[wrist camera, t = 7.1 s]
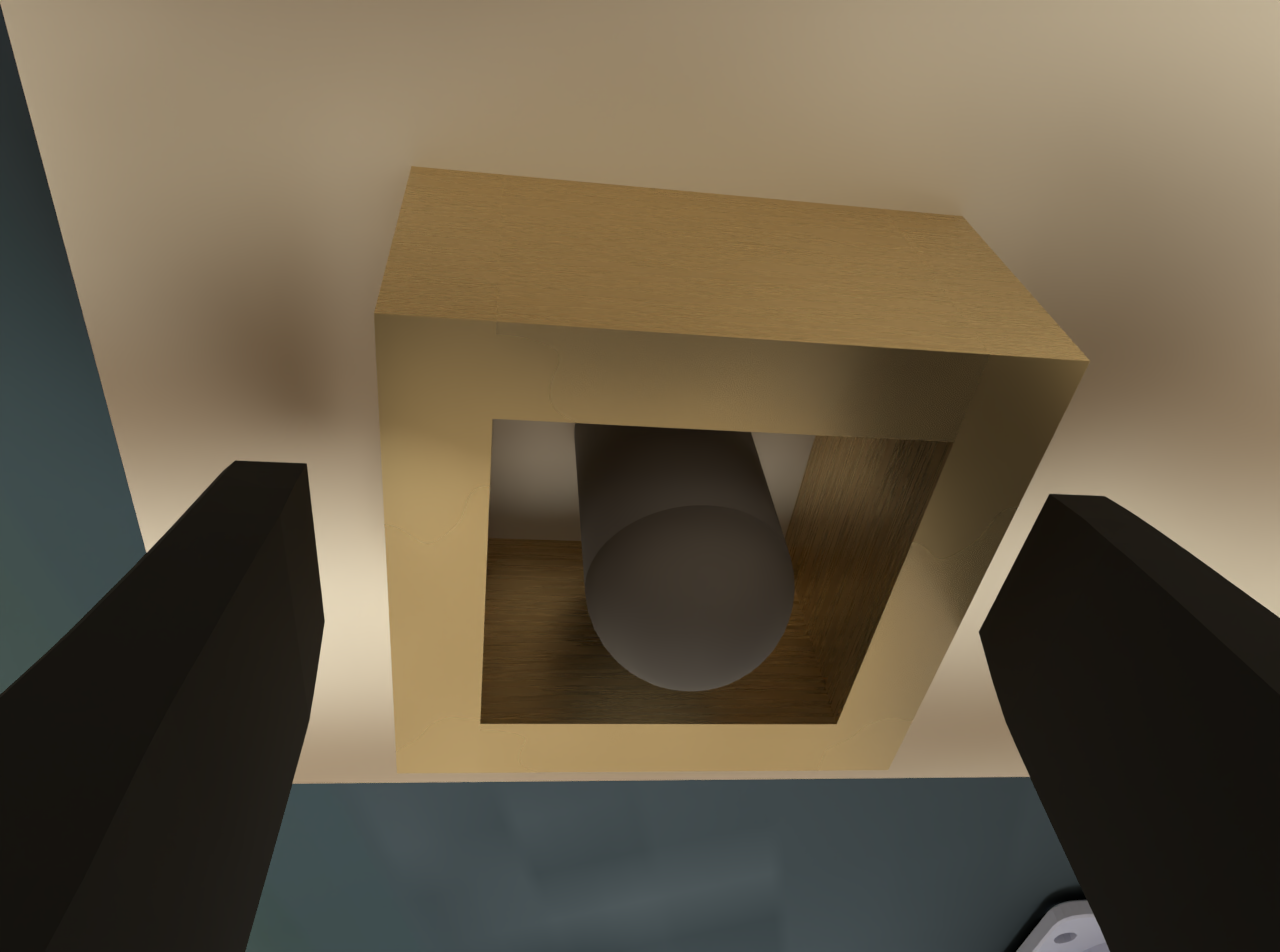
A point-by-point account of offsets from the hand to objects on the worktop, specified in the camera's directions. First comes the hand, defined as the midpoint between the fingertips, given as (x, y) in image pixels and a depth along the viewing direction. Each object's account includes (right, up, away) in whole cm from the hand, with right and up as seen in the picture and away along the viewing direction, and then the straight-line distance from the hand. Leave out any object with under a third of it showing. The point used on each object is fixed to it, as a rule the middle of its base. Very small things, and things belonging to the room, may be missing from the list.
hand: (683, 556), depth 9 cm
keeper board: (+8, +2, +4) cm, 9 cm away
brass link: (0, +1, +2) cm, 2 cm away
